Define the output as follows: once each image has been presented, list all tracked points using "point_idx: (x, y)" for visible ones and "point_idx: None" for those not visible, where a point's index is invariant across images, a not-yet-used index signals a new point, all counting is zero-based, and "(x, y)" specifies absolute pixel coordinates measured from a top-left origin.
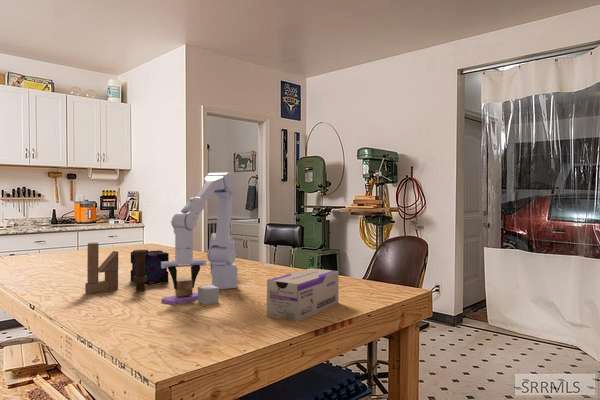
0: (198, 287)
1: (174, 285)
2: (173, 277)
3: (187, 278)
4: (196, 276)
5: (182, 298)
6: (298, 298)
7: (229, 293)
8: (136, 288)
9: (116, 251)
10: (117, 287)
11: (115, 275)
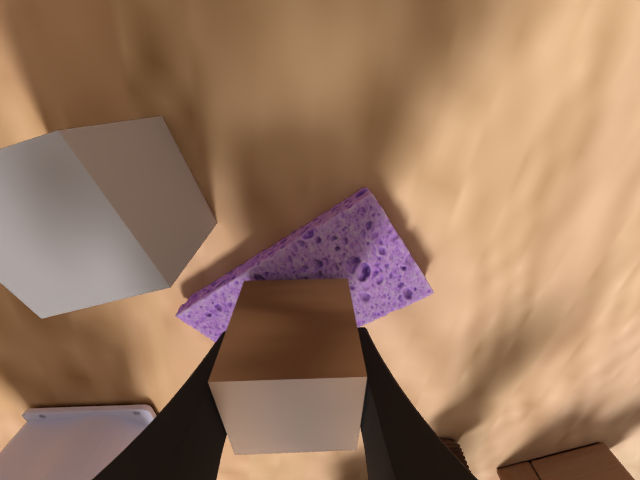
0: (163, 273)
1: (377, 351)
2: (416, 425)
3: (258, 440)
4: (146, 427)
5: (313, 257)
6: None
7: (44, 339)
8: (462, 454)
9: None
10: (503, 475)
11: None
